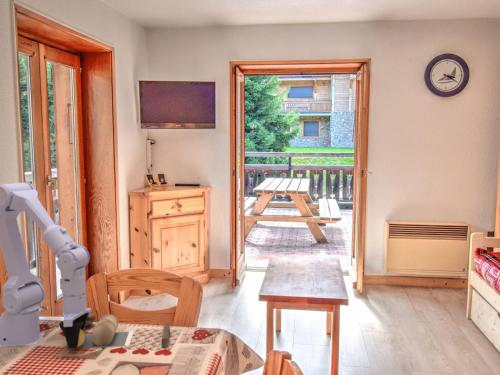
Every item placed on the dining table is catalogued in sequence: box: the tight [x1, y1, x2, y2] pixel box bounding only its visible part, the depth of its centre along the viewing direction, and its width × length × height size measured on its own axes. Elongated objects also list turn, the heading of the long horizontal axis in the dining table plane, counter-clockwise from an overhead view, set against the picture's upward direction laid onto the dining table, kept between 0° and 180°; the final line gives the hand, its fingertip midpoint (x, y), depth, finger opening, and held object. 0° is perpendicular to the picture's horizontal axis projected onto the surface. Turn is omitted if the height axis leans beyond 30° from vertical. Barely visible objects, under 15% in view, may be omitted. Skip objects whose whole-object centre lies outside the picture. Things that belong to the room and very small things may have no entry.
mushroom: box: [84, 312, 96, 332], centre depth 134 cm, size 8×8×6 cm
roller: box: [91, 313, 119, 346], centre depth 125 cm, size 6×9×6 cm, turn 8°
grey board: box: [66, 330, 134, 350], centre depth 125 cm, size 16×10×1 cm, turn 98°
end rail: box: [161, 322, 171, 349], centre depth 128 cm, size 2×12×2 cm, turn 8°
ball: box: [64, 329, 86, 347], centre depth 120 cm, size 5×5×5 cm
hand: (75, 343), depth 120 cm, fingers closed on ball, 5 cm apart
